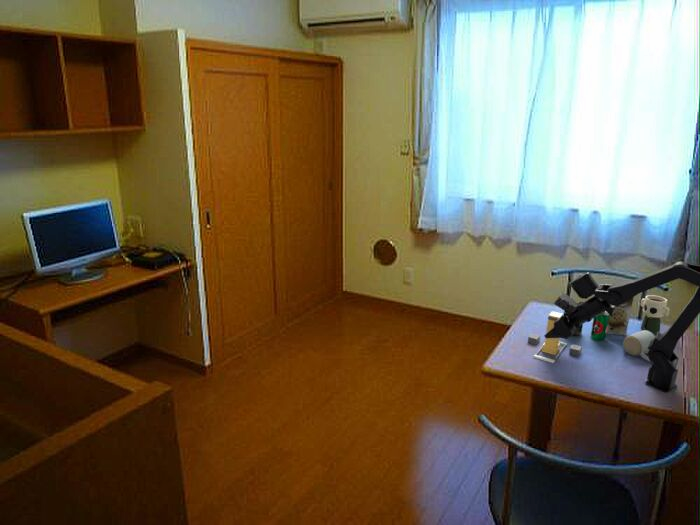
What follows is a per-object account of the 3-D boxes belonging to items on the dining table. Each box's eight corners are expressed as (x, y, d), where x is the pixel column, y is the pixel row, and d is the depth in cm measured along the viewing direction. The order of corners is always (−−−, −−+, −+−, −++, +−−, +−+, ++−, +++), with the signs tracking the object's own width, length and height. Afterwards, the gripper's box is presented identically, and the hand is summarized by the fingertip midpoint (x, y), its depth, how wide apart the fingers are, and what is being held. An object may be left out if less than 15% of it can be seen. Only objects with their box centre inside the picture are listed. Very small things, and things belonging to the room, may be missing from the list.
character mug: (630, 327, 202) (636, 294, 198) (643, 323, 205) (649, 292, 201) (656, 338, 192) (663, 305, 188) (669, 335, 195) (677, 302, 191)
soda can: (607, 344, 187) (612, 313, 184) (591, 343, 188) (596, 311, 185) (603, 338, 192) (609, 307, 188) (588, 337, 193) (593, 306, 189)
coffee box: (599, 333, 196) (607, 292, 191) (596, 326, 202) (603, 286, 197) (626, 336, 194) (634, 294, 189) (622, 328, 200) (629, 288, 195)
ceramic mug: (619, 351, 183) (623, 330, 181) (635, 346, 186) (640, 326, 184) (647, 365, 174) (652, 344, 172) (664, 360, 177) (669, 339, 175)
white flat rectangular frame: (585, 353, 181) (587, 344, 180) (573, 372, 169) (575, 363, 168) (526, 337, 192) (527, 329, 191) (511, 354, 180) (512, 345, 179)
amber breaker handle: (559, 350, 180) (564, 313, 176) (555, 355, 177) (560, 318, 173) (545, 346, 183) (550, 310, 179) (542, 351, 179) (547, 314, 175)
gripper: (580, 280, 178) (542, 303, 187) (565, 297, 163) (525, 321, 172) (602, 308, 176) (562, 330, 185) (588, 327, 161) (546, 350, 171)
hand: (549, 332), depth 178 cm, fingers open, 9 cm apart
